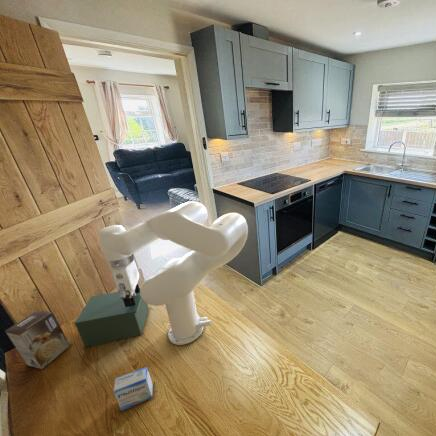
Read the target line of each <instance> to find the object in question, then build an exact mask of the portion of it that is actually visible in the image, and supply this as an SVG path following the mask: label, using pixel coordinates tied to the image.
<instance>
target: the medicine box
mask: <svg viewBox="0 0 436 436" xmlns="http://www.w3.org/2000/svg"><path fill="white" fill-rule="evenodd" d="M153 386H154V385H153V380H152V377H151V374H150V372H149V369H148V367H147V366H144V367H142V368H139V369H137V370H134V371H131V372H129V373H126V374H124V375H121V376H118V377H116V378H115V379H114V385H113V390H112V391H113V395H114V397H115V399H116V402H117V404H118V406H119V407H118V408H119V410H120V411H121V412H123V411H125V410H127V409H130V408H131V407H134V406H136V405H138V404H141V403H144V402H146V401H148V400H150V399H152V398H153V391H154V390H153V388H154V387H153Z"/></svg>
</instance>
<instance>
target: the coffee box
mask: <svg viewBox="0 0 436 436" xmlns="http://www.w3.org/2000/svg"><path fill="white" fill-rule="evenodd" d="M4 332H5V334H6V335H7V336H8V338H9V340H10V341H11V343H12V344H13V346H14V347H15V349H16V350H17V352H18V353H19V355H20V356H21V358H22V359H23V361H24V362H25V364H26V365H27V366H28V367H32V368H37V369H39V370H40V369H41V370H42V369H44V368H45V367H46V366H48V365H49V364H50V363H52V362H53V361H54V360H55V359H57V357H59V356H60V355H61V354H62V353H63V352H65V351H66V350H67V349H68V348H69V347H70V346H71V344H70V342H69V340H68V338H67V336H66V334H65V333H64V330H63V328H62V327H61V325H60V323H59V322H58V320H57V317H56V316H55V314H54V312H51V311H47V310H41V309H37V310H36V311H34V312H33V313H31V314H29V315H28V316H26V317H24V318H23V319H21V320H20V321H18V322H16V323H15V324H13V325H12V326H10V327H8V328H7V329H6V330H4Z"/></svg>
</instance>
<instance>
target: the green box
mask: <svg viewBox="0 0 436 436" xmlns="http://www.w3.org/2000/svg"><path fill="white" fill-rule="evenodd" d="M149 310H150V309H149V304H148V303H146V302H145V301H144V300H143V299H141V302H140V305H139V308H138V311H137V313H133V314H127V315H122V316H117V317H112V318H107V319H102V320H97V321H92V322H86V323H81V324H76V325H75V327H76V329H77V332H78V333H79V335H80V338H81V340H82V342H83V344H84V347H85V348H88V347H91V346H97V345H101V344H105V343H110V342H115V341H118V340H124V339H128V338H132V337H137V336H141V335H142V333H143V330H144V327H145V324H146V320H147V317H148V313H149Z"/></svg>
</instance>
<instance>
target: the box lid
mask: <svg viewBox="0 0 436 436" xmlns="http://www.w3.org/2000/svg"><path fill="white" fill-rule="evenodd" d="M135 289H136V287H135ZM135 289H134V290H133V291H131V292H132V296H133V297H134V300H135V303H136V304H135V306H129V307H125V304H124V301H123V300H122V299H121V298H120V293H119V292H118V291H115V292H108V293H103V294H97V295H91V296H90V298H89V299H88V301H87V303H86V304H85V306H84V307H83V309H81V312H80V314H79V315H78V317H77V318H76V320H75V322H74V325H75V326H76V324H81V323H86V322H92V321H97V320H102V319H107V318H112V317H117V316H122V315H127V314H133V313H137V311H138V308H139V305H140V302H141V299H142V298H141V295H140V293H135ZM125 294H126V295H129V292H125Z"/></svg>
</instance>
